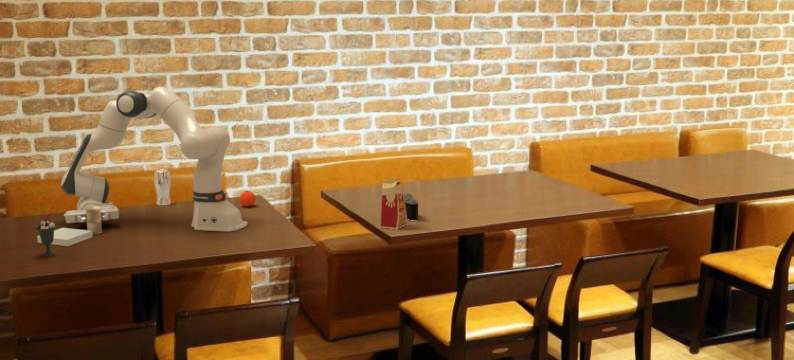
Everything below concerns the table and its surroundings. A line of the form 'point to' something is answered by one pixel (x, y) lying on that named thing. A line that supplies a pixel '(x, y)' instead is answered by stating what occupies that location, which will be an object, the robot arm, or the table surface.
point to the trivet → (69, 236)
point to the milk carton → (393, 205)
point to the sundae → (47, 234)
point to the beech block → (94, 219)
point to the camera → (411, 206)
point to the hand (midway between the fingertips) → (94, 219)
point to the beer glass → (162, 186)
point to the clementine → (247, 198)
